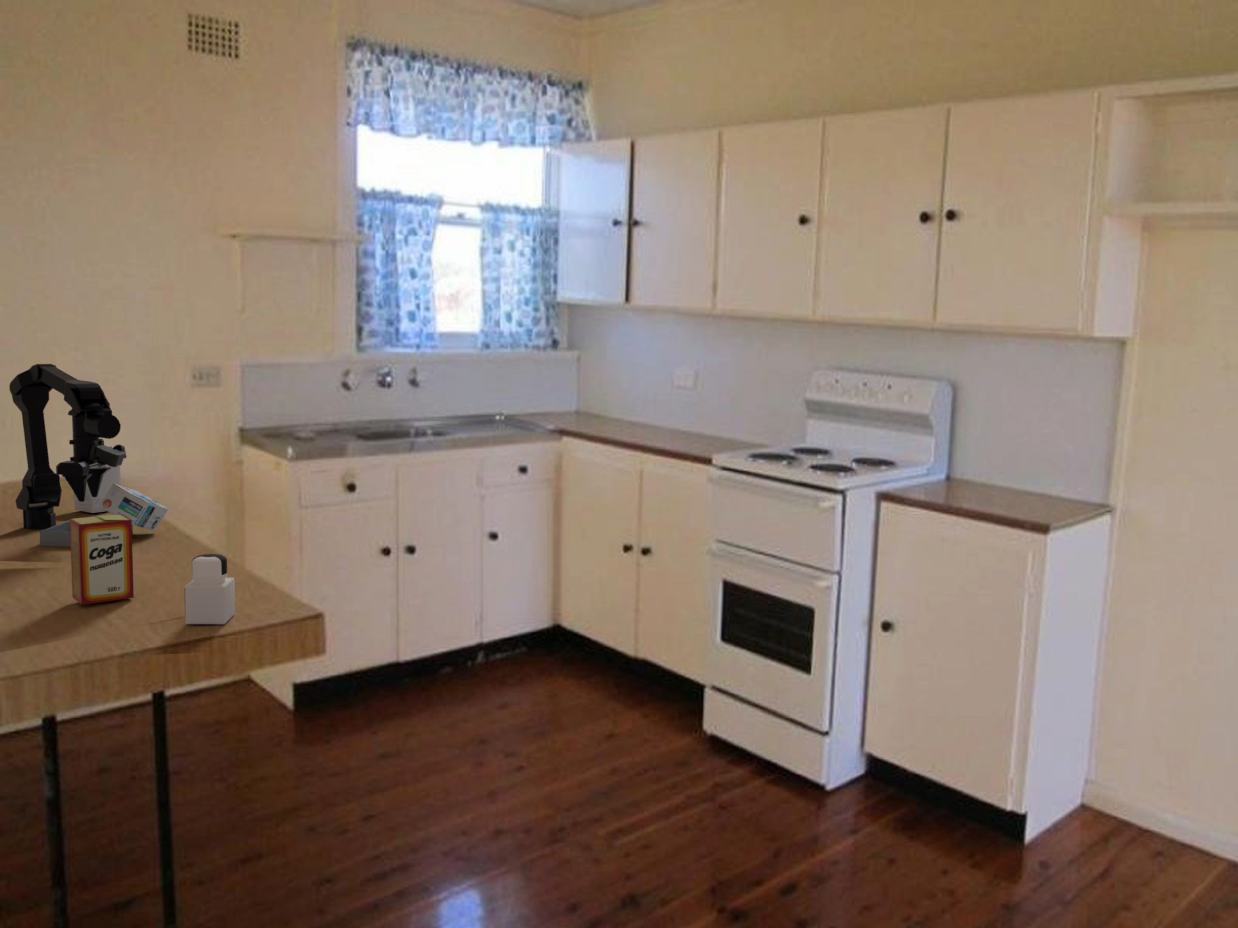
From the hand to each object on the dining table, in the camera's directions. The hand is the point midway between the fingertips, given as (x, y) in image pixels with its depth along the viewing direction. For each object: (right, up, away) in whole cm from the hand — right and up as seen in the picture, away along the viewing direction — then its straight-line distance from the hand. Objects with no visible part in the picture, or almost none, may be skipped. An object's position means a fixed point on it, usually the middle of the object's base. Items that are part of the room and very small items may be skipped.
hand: (88, 499), depth 261 cm
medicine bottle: (+53, -20, -61) cm, 84 cm away
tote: (-1, -10, +1) cm, 10 cm away
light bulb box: (+8, -3, +13) cm, 16 cm away
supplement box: (-17, -4, +40) cm, 44 cm away
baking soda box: (+27, -18, -49) cm, 59 cm away
